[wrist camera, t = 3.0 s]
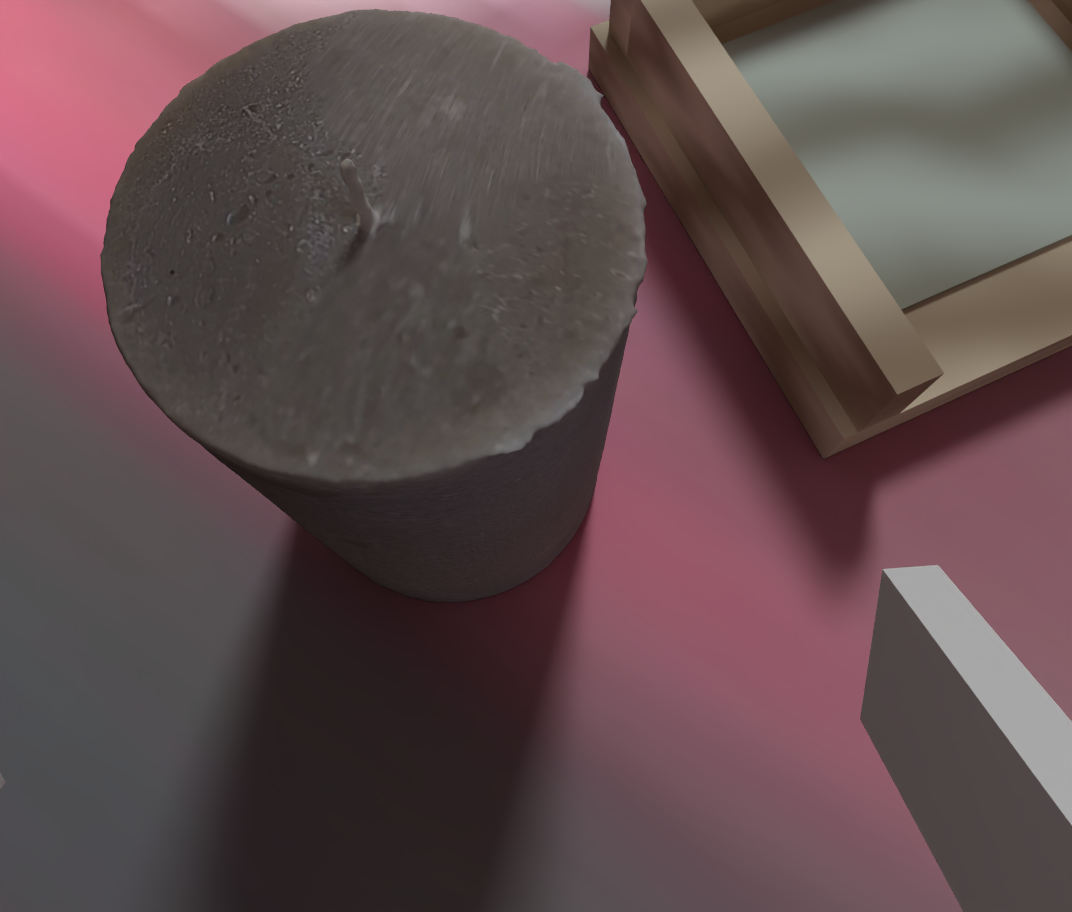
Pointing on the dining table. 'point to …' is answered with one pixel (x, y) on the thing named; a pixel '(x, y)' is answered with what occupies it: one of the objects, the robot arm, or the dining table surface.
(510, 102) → the pillar candle
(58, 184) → the dining table surface
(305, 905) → the dining table surface
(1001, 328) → the wooden tray
